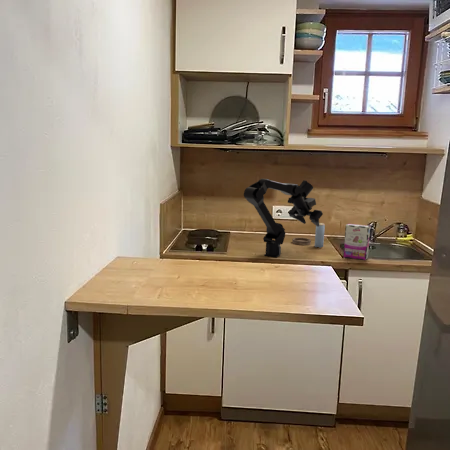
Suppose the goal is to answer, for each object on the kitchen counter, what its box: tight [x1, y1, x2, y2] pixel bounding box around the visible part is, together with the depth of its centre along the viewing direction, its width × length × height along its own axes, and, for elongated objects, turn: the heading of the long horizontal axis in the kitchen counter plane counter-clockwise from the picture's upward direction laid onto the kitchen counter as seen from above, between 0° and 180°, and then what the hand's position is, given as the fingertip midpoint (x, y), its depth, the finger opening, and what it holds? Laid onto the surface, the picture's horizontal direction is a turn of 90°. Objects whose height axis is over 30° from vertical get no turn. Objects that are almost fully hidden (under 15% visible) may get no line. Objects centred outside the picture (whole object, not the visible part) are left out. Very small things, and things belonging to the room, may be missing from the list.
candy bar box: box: [342, 223, 371, 261], centre depth 229 cm, size 11×5×16 cm, turn 62°
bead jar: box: [314, 222, 326, 249], centre depth 251 cm, size 5×5×13 cm
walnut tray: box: [291, 237, 312, 246], centre depth 259 cm, size 10×10×2 cm
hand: (311, 224), depth 243 cm, fingers open, 9 cm apart
